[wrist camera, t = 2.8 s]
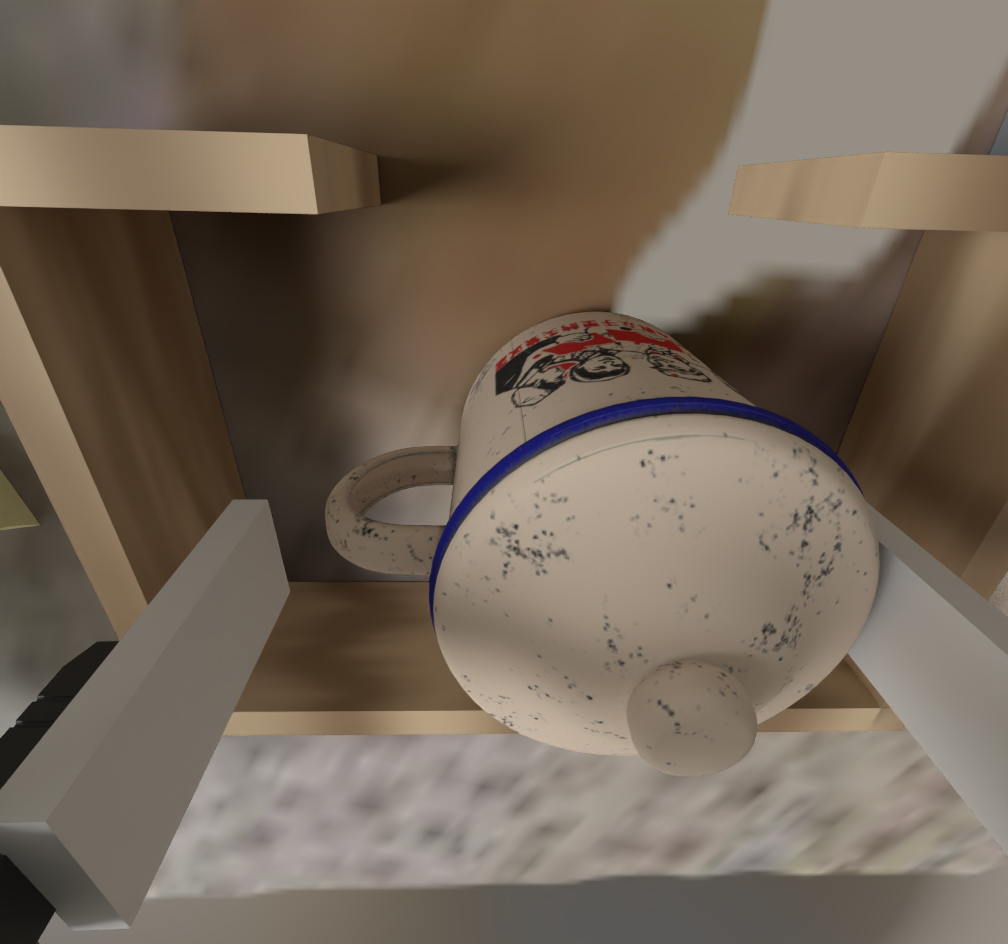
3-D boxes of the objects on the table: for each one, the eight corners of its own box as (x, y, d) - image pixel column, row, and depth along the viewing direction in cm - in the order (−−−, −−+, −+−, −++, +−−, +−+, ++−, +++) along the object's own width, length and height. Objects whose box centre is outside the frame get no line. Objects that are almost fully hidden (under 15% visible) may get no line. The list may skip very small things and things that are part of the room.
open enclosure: (988, 173, 14) (1277, 163, 9) (805, 603, 22) (901, 730, 17) (106, 147, 13) (-138, 120, 8) (245, 603, 21) (166, 735, 16)
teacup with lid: (742, 307, 16) (1182, 513, 6) (679, 538, 20) (866, 885, 10) (359, 289, 15) (106, 482, 5) (380, 531, 20) (264, 888, 10)
